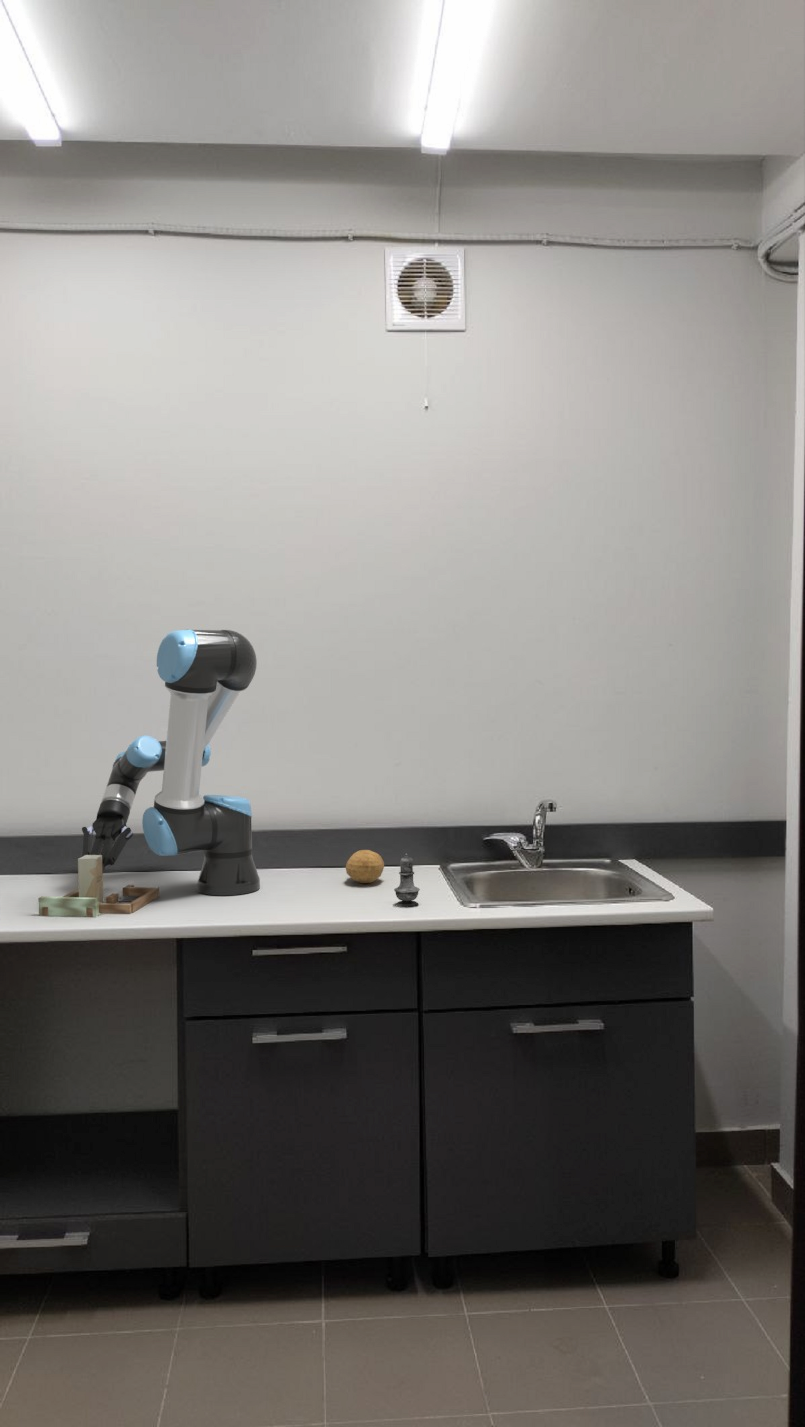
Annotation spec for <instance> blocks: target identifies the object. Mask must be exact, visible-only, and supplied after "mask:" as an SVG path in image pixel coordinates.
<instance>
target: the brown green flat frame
mask: <svg viewBox="0 0 805 1427" xmlns="http://www.w3.org/2000/svg"><path fill="white" fill-rule="evenodd" d="M159 891H160V888H159V887H149V886H147V887H145V886H138V887H137V886H135V884H127V885H125V886H124V887H122V897H123V898H121V899H120V897H119V896H120V894H119V893H114V892H113V893H110V894H109V895H107V896H105V903H102V902H98V898H89V897H79V887H78V888H76V889H75V890H72V891H70V892H68V893H67V894H65V895H62V896H39V897H37V898H38V903H37V904H38V916H40V917H78V916H81V917H82V918H84V916H86V917H85V918H97V917H98V916H100V914H115V915H116V914H119V915H120V914H121V915H122V914H123V915H131V914H134V913H135V912H136V911H138V910H139V909H141V908H143V907H144V906H146V905H148V904H150V903H151V902H153V901H155V900H156V899H158V898H159V897H160V892H159ZM157 897H158V898H157ZM81 917H80V918H81Z"/></svg>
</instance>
